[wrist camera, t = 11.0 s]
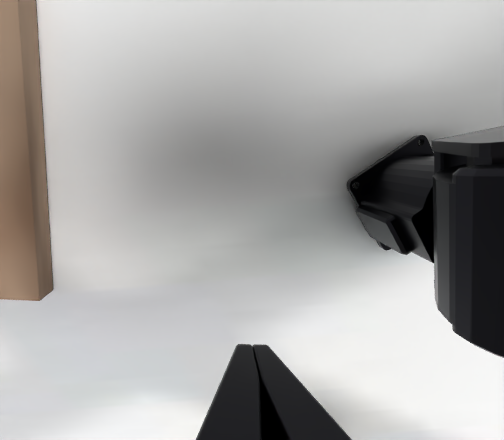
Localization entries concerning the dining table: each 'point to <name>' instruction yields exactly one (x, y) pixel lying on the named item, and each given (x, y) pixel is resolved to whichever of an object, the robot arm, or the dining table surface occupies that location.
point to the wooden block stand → (22, 159)
